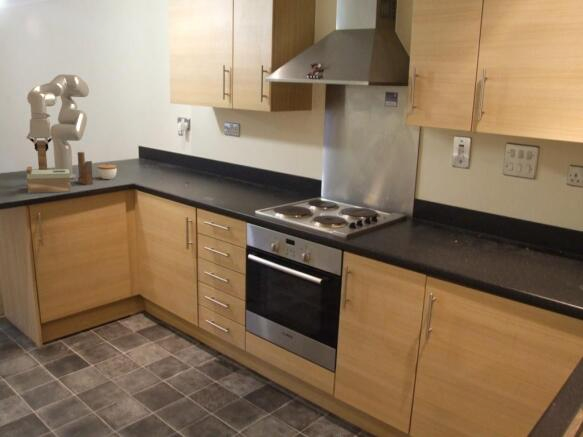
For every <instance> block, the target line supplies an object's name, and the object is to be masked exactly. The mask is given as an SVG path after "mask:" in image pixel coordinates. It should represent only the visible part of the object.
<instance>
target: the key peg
mask: <svg viewBox="0 0 583 437" xmlns="http://www.w3.org/2000/svg"><path fill="white" fill-rule="evenodd" d="M36 142H37V151H36V152H37V161H38V164H37V165H38V170H48V161H47V160H48V157H47V151H46V147H45V144H46V141H45V139H43V140H40V139H38V140H37V141H36Z"/></svg>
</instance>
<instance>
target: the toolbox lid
mask: <svg viewBox="0 0 583 437" xmlns="http://www.w3.org/2000/svg"><path fill="white" fill-rule="evenodd" d="M25 170H26V180H27V179H45V178H70V174H69V169H57V170H55V169H47V170H39V169H33V166H27V167H26V169H25Z"/></svg>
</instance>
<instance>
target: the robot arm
mask: <svg viewBox="0 0 583 437" xmlns="http://www.w3.org/2000/svg"><path fill="white" fill-rule="evenodd" d="M89 94H90V88H89V86H88V84H87V83H86V82H85V80H83V78H81V77H80V76H78V75H76V74H58V75H57V76H55V77H53V79H52V80H51V81H50V82H48V83H43V84H41V85H38V86H35V87H33V88H32V89H30V91H29V92H28V93H27V102H28V103H29V105H30V113H31V114H30V115H31V116H30V117H31V118H30V119H29V132H28V134H27V136H25V137H26V139H27V140H29V141H31V142H32V143H33V146H34V150H35V151H36V152H38V151H37V139H44V140H45V147H46V152H48V150H49V143H51V141H52V143H53V144H52V146H53V158H54V170H57V169H69V174H70V180H71V179H75V178H76V177H77V174H75V173H74V172H73V170H74V169H73V156H72V147H71V145H70V143H69V142H71V141H75V142H78V141H81V140H82V138H83V136H84V133H85V130H86V125H87V121H88V118H87V114H86V112H85V111H83V110H81V109H78V105H77V103H76V101H75V100H74V99H73V98H87V97H88V95H89ZM57 97H60V99H61V107H60V109H59V113H58V117H57V122H58V123H55V124H52V126H51V123H50V119H48V118H50V117H51V115H50V114H48V113H47V112H48V111H47V107H54V106H55V105H56V103H57V102H58V101H57V99H58V98H57ZM68 141H69V142H68Z"/></svg>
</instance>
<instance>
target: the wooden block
mask: <svg viewBox="0 0 583 437" xmlns="http://www.w3.org/2000/svg"><path fill="white" fill-rule="evenodd" d="M85 158H86V157H85V152H84V151H78V152H77V165H78V166H77V168H78V177H77V182H78V183H79V184H83V185H85V186H90V185H91V186H92V185H94V182H93V180H94V179H93V163H92V162H93V161H92V160H89V161H88V160H87V161H86V159H85Z"/></svg>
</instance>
